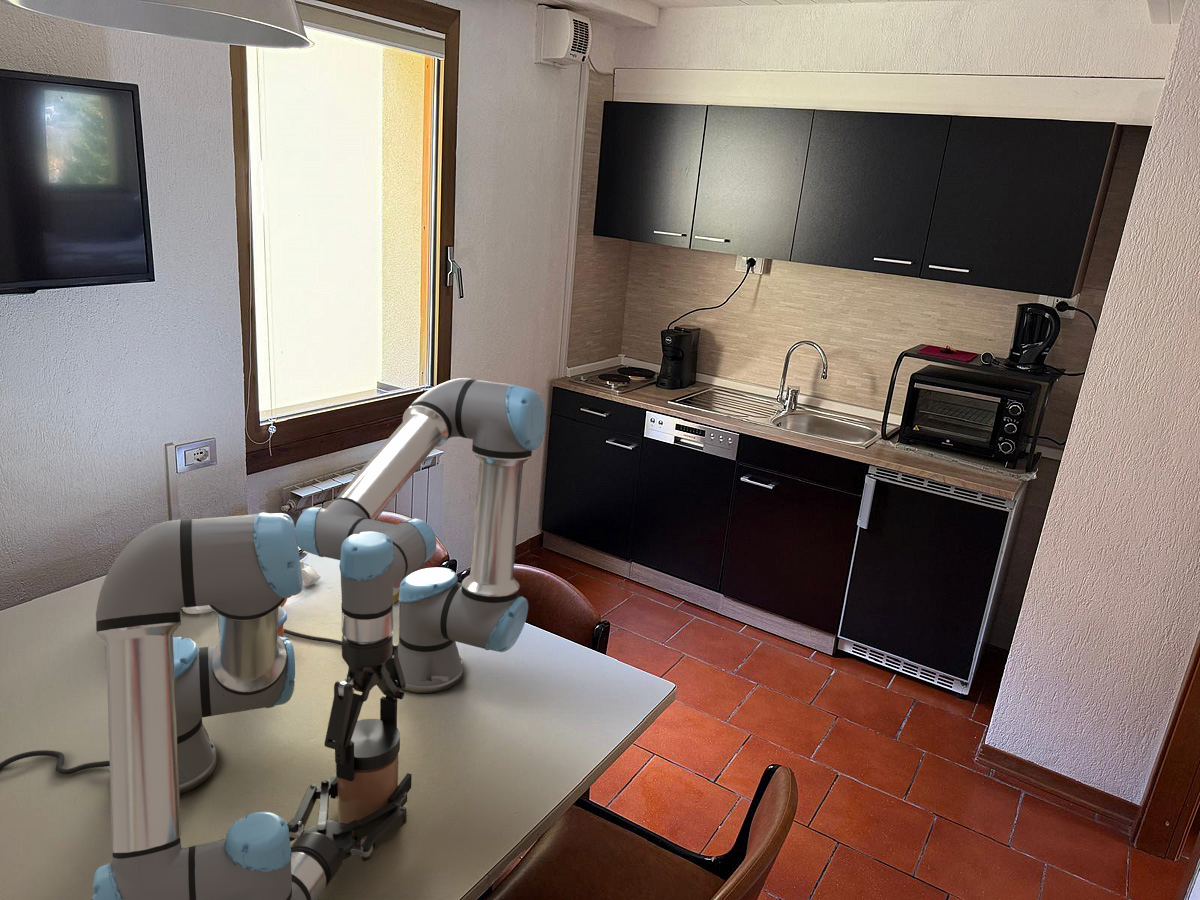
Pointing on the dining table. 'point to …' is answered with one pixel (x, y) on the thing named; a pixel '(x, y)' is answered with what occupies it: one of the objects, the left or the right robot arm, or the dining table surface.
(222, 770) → the dining table surface
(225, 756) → the dining table surface
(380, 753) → the lid
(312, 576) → the clamp
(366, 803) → the jar
